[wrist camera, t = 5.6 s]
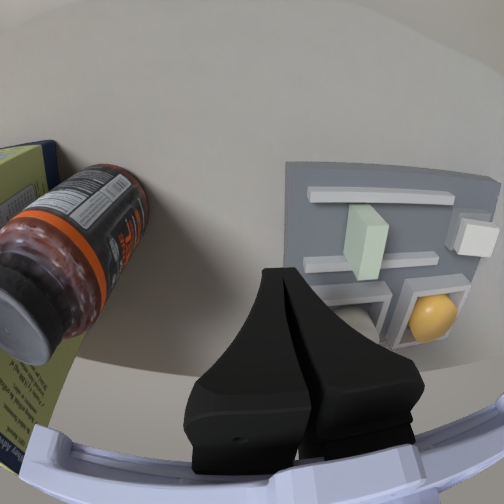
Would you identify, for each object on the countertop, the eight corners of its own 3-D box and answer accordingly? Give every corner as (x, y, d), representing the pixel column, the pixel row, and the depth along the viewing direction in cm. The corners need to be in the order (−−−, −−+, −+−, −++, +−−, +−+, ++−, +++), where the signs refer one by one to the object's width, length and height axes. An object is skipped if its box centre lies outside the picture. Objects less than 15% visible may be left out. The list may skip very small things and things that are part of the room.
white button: (376, 303, 18) (386, 324, 17) (363, 343, 20) (371, 363, 19) (318, 308, 18) (325, 330, 17) (312, 349, 20) (316, 370, 19)
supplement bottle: (144, 256, 19) (82, 402, 9) (69, 233, 18) (-22, 350, 8) (160, 172, 16) (63, 299, 7) (75, 152, 15) (-61, 241, 5)
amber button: (452, 284, 19) (464, 300, 17) (436, 322, 21) (446, 338, 20) (412, 289, 19) (424, 307, 17) (398, 328, 21) (407, 346, 20)
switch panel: (488, 176, 16) (514, 191, 14) (443, 318, 23) (456, 339, 21) (285, 161, 16) (293, 176, 14) (280, 337, 23) (284, 366, 21)
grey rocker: (493, 222, 15) (499, 228, 14) (484, 250, 16) (490, 257, 15) (461, 217, 15) (467, 223, 15) (453, 247, 17) (458, 254, 16)
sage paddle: (368, 203, 16) (389, 225, 13) (361, 252, 17) (377, 279, 15) (349, 203, 16) (367, 225, 13) (343, 252, 17) (357, 280, 15)
